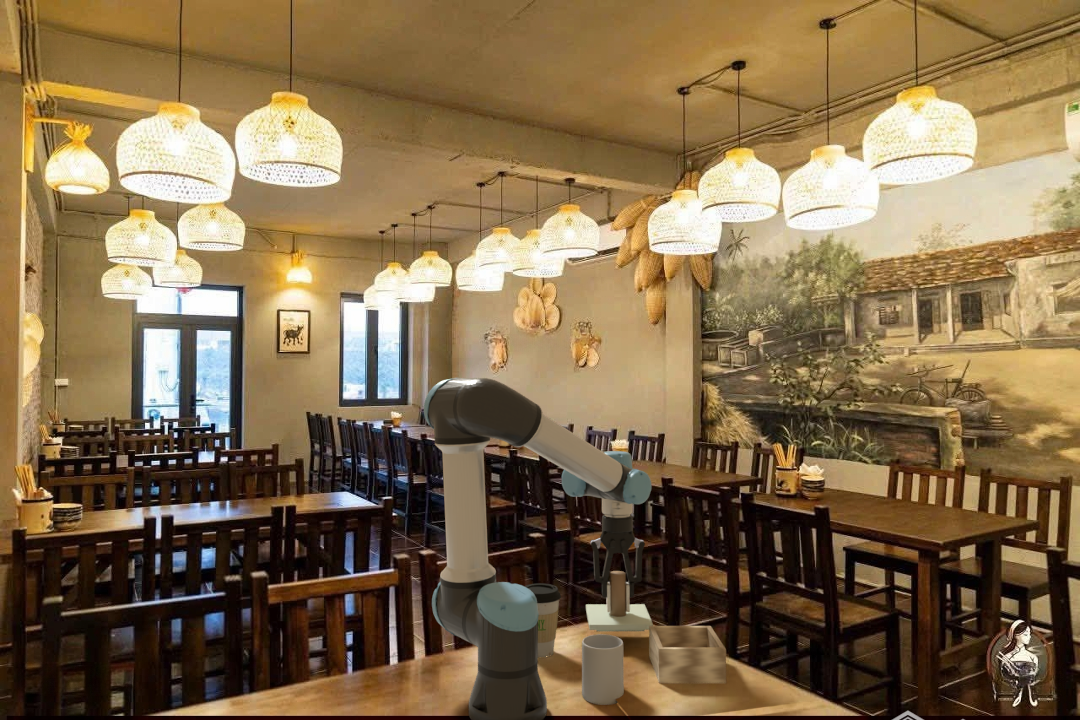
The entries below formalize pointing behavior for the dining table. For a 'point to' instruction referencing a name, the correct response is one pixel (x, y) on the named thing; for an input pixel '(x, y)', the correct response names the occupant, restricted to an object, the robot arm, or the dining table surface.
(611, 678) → the mug
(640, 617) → the lid
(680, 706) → the dining table surface
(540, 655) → the coffee cup
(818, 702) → the dining table surface
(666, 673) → the box
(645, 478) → the robot arm
